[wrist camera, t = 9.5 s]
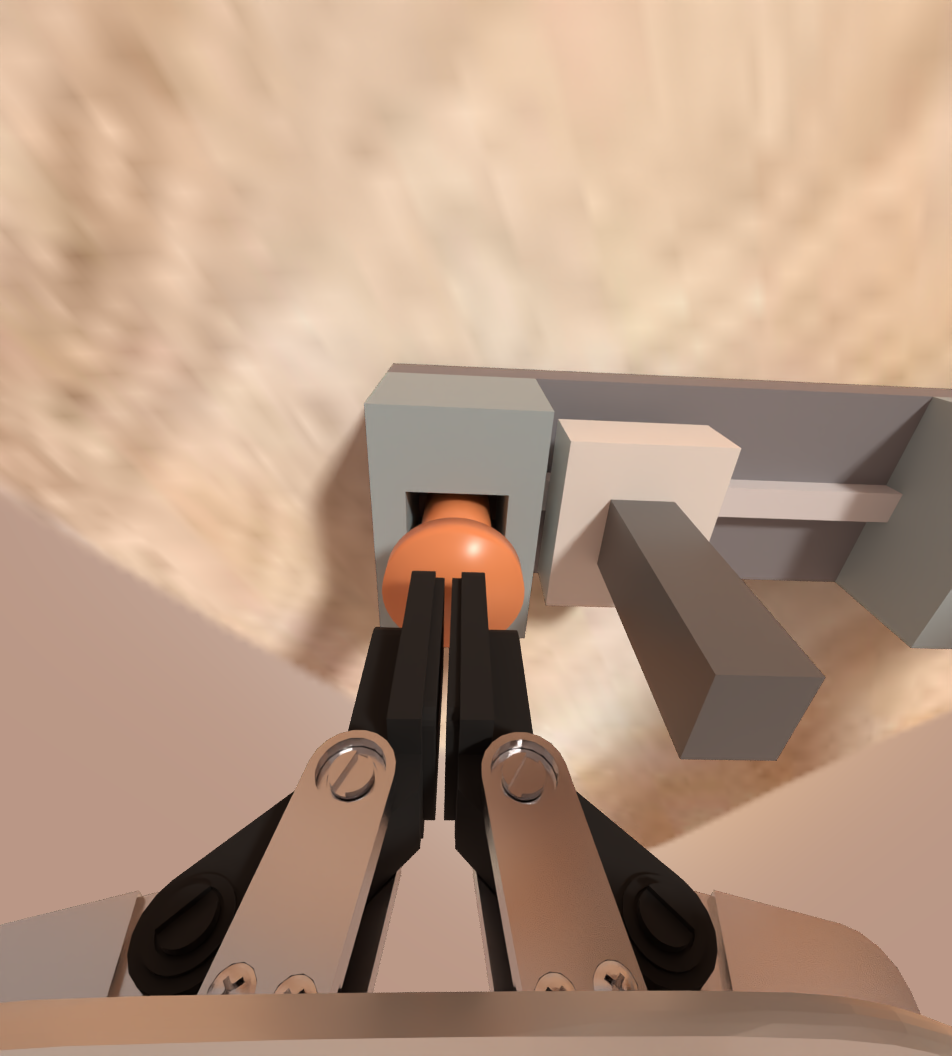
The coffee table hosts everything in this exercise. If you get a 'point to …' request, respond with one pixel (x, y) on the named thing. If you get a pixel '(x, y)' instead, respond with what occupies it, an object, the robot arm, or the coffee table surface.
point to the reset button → (456, 558)
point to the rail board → (754, 490)
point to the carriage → (672, 582)
